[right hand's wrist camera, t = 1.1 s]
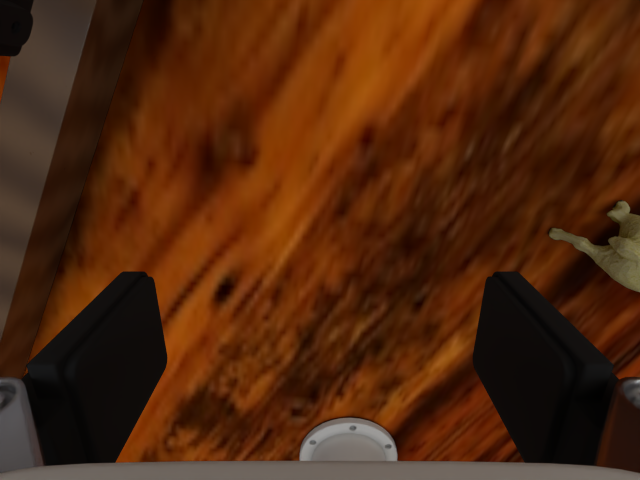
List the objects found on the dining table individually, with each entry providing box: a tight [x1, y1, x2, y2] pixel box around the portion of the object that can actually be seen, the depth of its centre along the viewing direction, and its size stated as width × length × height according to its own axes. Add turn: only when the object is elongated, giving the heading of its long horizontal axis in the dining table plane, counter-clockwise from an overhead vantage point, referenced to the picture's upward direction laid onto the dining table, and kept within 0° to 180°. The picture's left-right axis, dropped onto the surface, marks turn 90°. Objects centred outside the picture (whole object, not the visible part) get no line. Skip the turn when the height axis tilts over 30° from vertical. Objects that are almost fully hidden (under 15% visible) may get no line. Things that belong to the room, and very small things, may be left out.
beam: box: [0, 0, 143, 380], centre depth 39 cm, size 67×4×7 cm, turn 152°
